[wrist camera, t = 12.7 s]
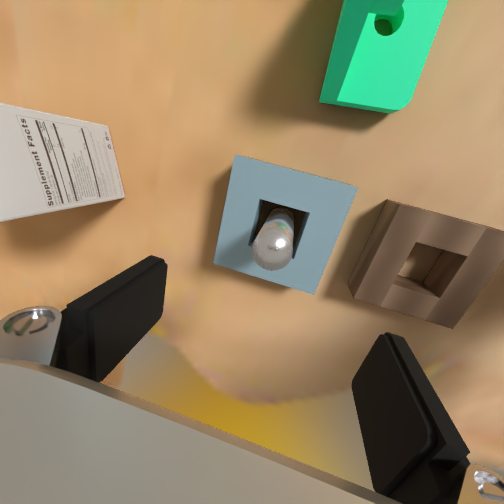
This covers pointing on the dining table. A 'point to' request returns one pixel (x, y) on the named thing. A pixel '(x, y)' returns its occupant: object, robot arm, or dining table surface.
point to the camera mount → (380, 53)
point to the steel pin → (275, 240)
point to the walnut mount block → (443, 272)
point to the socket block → (291, 195)
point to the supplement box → (53, 163)
